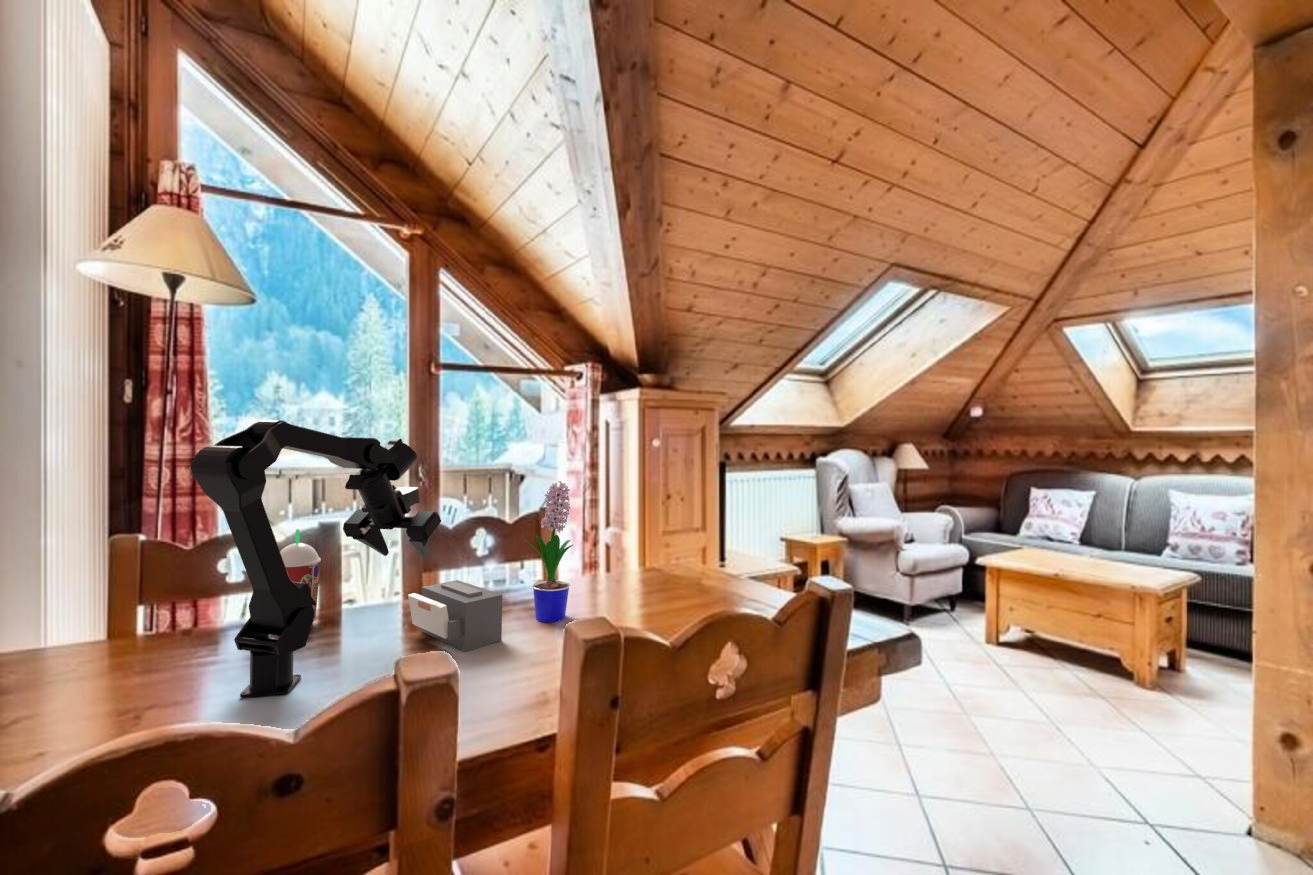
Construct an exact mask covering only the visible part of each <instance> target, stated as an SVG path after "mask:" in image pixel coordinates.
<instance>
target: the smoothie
mask: <svg viewBox="0 0 1313 875" xmlns="http://www.w3.org/2000/svg"><path fill="white" fill-rule="evenodd" d="M280 553H281V556H282V559H283V562H284V564H285V567H286V570H287V573H288V576H289V578H290V580H291V581H292V582H299V583H307V584H308V585H309V587H310V591H311V596H312V598H313V600H314V601H315V602H316V605H313V607H314V612H315V617H314V619H313V622H312V626H311V628H312V627H313V625H314V622H315V621H316V620H317V619H316V618H317V606H318V595H319V583H320V581H319V580H320V570H321V560H322V559H321V557H320V556H319V554H318V552H317V551H316V549H315V548H314V547H312V546H311V545H310V544H307V543H305V542H300V529H295V542H294V543H290V544H288V545H286V546H284V547H283V548H282V549H281V550H280Z"/></svg>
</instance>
